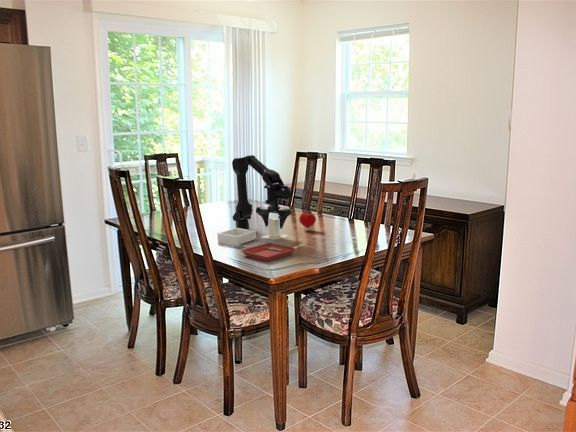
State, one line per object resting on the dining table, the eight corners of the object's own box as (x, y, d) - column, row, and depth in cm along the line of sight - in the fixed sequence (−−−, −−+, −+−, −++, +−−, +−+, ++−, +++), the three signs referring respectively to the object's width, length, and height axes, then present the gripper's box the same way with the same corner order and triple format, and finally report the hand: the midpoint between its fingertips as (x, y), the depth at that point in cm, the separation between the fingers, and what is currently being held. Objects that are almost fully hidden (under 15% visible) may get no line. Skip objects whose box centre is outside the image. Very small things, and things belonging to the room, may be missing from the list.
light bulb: (318, 231, 300) (318, 212, 298) (312, 234, 294) (312, 215, 292) (303, 229, 304) (302, 211, 302) (296, 232, 299) (296, 214, 296)
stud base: (260, 239, 287) (260, 229, 286) (272, 235, 294) (272, 225, 293) (276, 241, 281) (275, 231, 280) (287, 237, 289) (287, 227, 288)
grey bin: (217, 242, 282) (217, 233, 281) (236, 237, 292) (235, 227, 291) (238, 246, 274) (237, 236, 273) (256, 240, 284) (255, 230, 283)
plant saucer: (240, 256, 258) (240, 249, 257) (269, 248, 270) (269, 241, 269) (267, 264, 245) (267, 256, 244) (296, 255, 257) (296, 248, 257)
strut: (268, 236, 287) (268, 219, 285) (273, 235, 290) (272, 218, 288) (274, 237, 285) (274, 220, 283) (279, 236, 288) (279, 218, 286)
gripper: (248, 198, 282) (249, 228, 286) (277, 201, 271) (278, 233, 275) (262, 195, 291) (263, 224, 294) (291, 198, 280) (292, 228, 283)
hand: (273, 227), depth 286 cm, fingers open, 9 cm apart
